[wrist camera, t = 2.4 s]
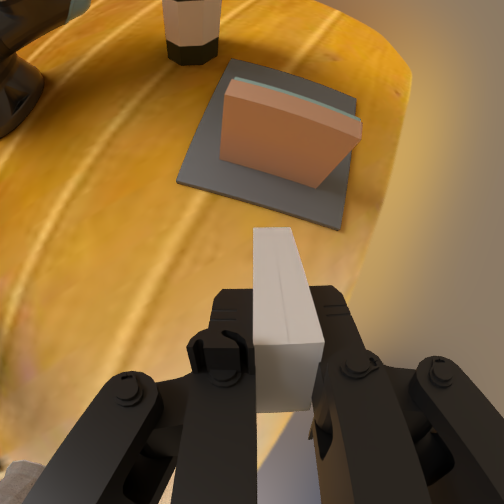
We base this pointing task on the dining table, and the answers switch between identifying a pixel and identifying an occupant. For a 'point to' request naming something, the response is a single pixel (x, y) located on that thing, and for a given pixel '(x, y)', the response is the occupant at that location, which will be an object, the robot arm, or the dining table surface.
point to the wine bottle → (192, 30)
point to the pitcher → (19, 481)
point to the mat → (257, 182)
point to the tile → (284, 132)
